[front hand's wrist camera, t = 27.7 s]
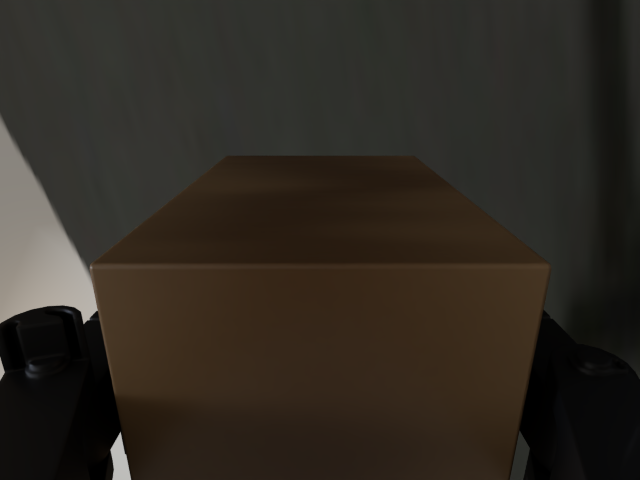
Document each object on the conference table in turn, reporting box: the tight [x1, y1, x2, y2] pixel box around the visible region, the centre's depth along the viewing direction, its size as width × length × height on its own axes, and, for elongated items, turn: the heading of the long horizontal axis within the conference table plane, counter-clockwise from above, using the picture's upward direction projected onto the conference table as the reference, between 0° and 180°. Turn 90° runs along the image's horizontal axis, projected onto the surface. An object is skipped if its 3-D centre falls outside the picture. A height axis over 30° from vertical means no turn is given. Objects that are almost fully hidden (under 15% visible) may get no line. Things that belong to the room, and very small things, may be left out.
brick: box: [90, 156, 551, 480], centre depth 11 cm, size 6×7×9 cm
